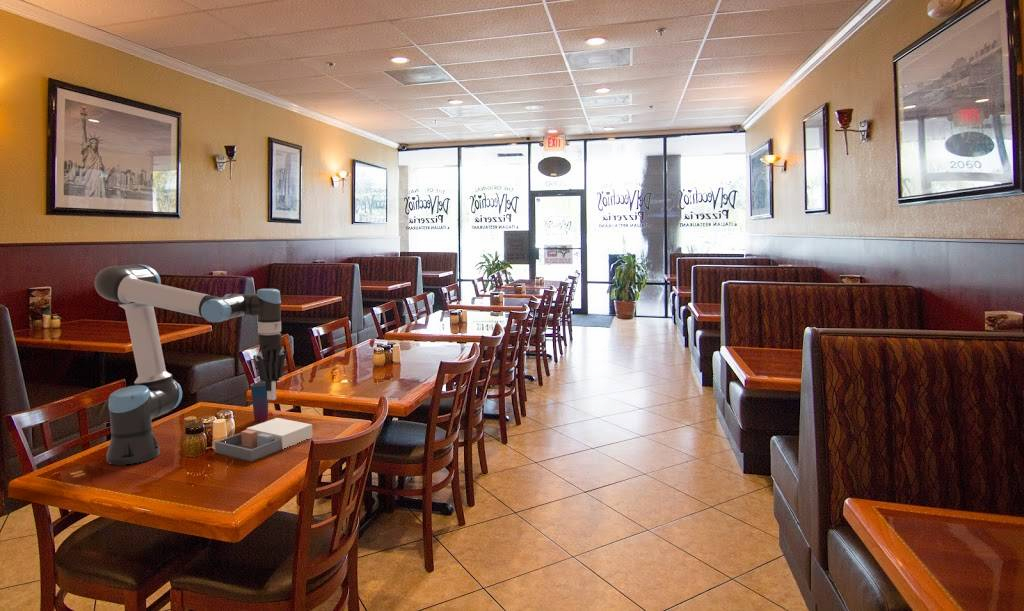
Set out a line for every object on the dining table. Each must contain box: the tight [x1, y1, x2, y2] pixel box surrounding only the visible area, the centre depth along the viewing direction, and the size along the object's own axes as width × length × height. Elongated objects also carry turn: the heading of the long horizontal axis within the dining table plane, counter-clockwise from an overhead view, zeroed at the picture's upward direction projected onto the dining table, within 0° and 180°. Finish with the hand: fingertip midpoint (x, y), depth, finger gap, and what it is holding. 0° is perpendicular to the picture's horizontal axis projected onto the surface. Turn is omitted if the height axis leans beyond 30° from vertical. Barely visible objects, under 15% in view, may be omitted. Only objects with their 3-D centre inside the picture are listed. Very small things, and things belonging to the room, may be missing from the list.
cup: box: [250, 381, 269, 422], centre depth 238 cm, size 7×7×15 cm
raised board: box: [246, 417, 314, 450], centre depth 216 cm, size 18×14×5 cm
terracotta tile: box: [240, 429, 257, 447], centre depth 208 cm, size 5×5×2 cm
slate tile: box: [257, 433, 273, 447], centre depth 205 cm, size 5×5×2 cm
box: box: [214, 432, 282, 463], centre depth 203 cm, size 18×12×4 cm, turn 64°
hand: (271, 399), depth 207 cm, fingers closed
